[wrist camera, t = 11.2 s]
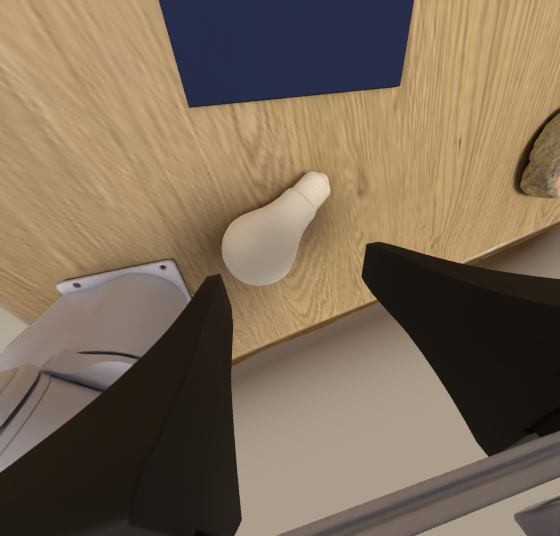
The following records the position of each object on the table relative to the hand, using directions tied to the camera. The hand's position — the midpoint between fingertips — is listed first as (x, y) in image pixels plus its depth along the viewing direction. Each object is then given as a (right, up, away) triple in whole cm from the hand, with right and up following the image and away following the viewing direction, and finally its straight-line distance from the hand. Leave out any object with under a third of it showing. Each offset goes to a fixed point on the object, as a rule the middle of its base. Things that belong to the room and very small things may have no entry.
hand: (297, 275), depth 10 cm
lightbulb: (+3, +8, +6) cm, 11 cm away
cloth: (0, +17, +2) cm, 17 cm away
